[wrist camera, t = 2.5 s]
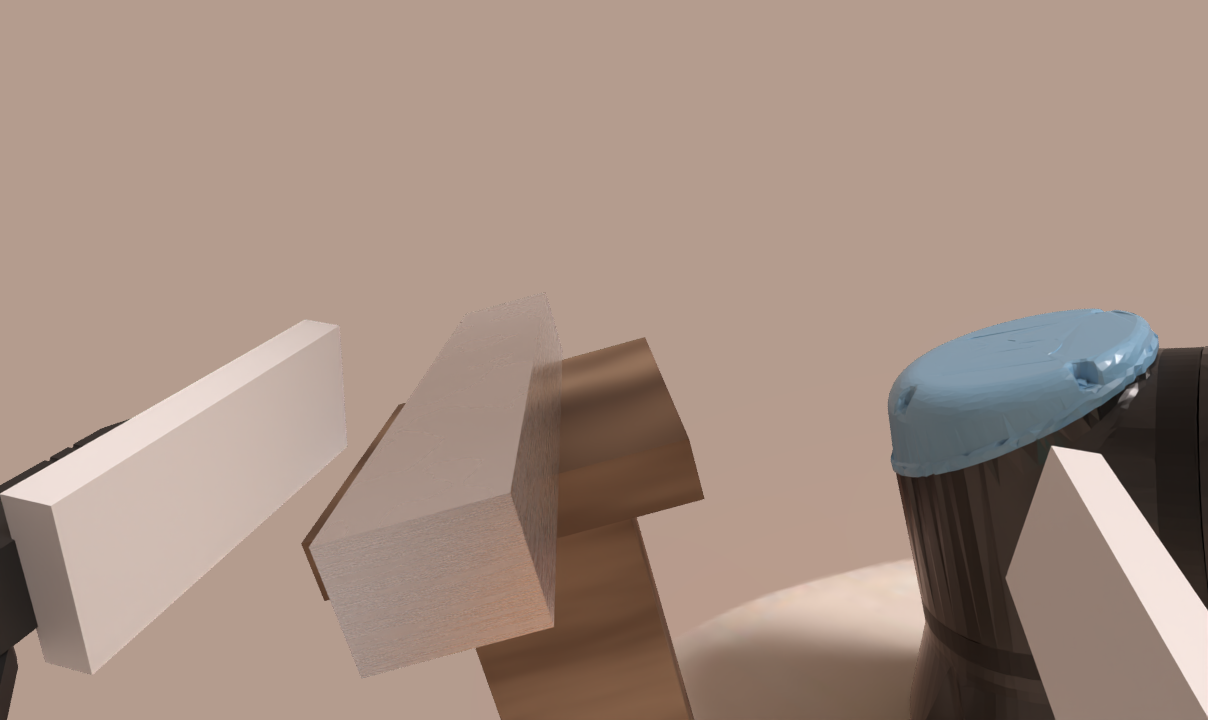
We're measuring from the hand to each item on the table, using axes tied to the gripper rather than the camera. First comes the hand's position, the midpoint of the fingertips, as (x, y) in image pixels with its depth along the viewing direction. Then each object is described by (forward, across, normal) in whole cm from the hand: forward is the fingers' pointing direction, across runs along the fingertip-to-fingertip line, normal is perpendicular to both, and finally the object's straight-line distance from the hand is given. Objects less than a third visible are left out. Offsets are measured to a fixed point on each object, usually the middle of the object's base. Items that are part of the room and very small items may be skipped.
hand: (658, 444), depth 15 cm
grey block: (+10, -6, -7) cm, 14 cm away
